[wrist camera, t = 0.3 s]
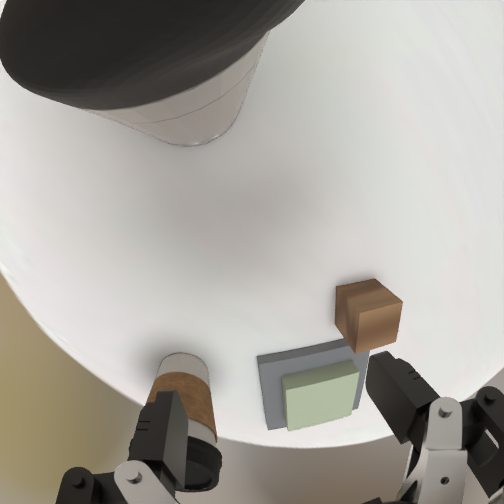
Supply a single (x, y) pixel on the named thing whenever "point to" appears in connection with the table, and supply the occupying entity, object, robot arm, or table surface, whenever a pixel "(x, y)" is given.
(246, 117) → the table surface
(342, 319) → the walnut block
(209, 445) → the coffee cup
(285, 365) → the stack base
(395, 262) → the table surface
